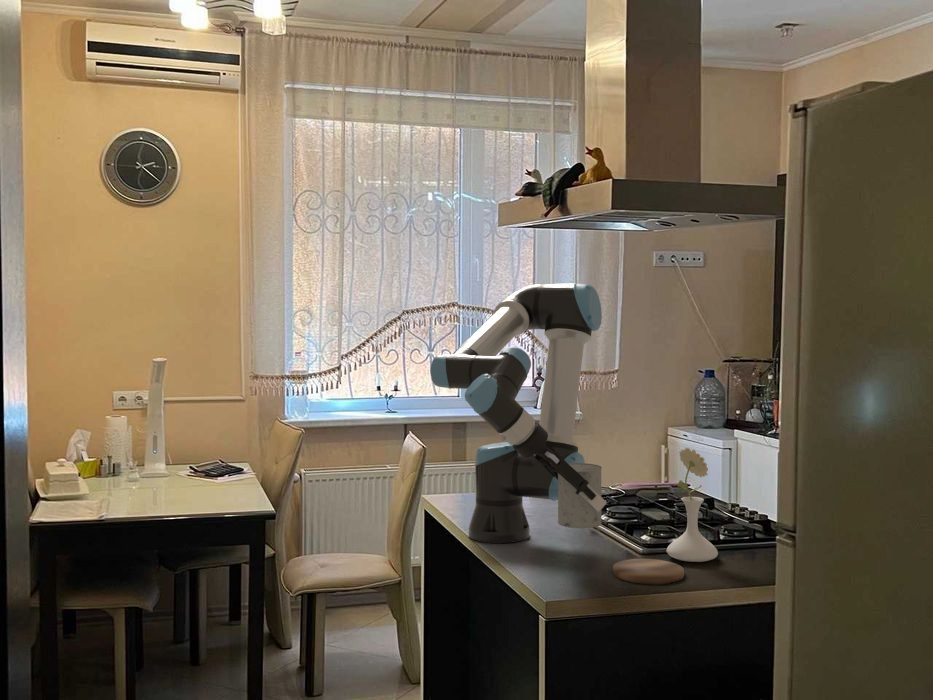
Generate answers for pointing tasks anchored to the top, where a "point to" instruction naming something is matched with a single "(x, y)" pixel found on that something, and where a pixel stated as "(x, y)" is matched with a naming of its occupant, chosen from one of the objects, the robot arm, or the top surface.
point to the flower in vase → (692, 517)
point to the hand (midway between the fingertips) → (592, 501)
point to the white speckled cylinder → (579, 499)
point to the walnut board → (648, 571)
